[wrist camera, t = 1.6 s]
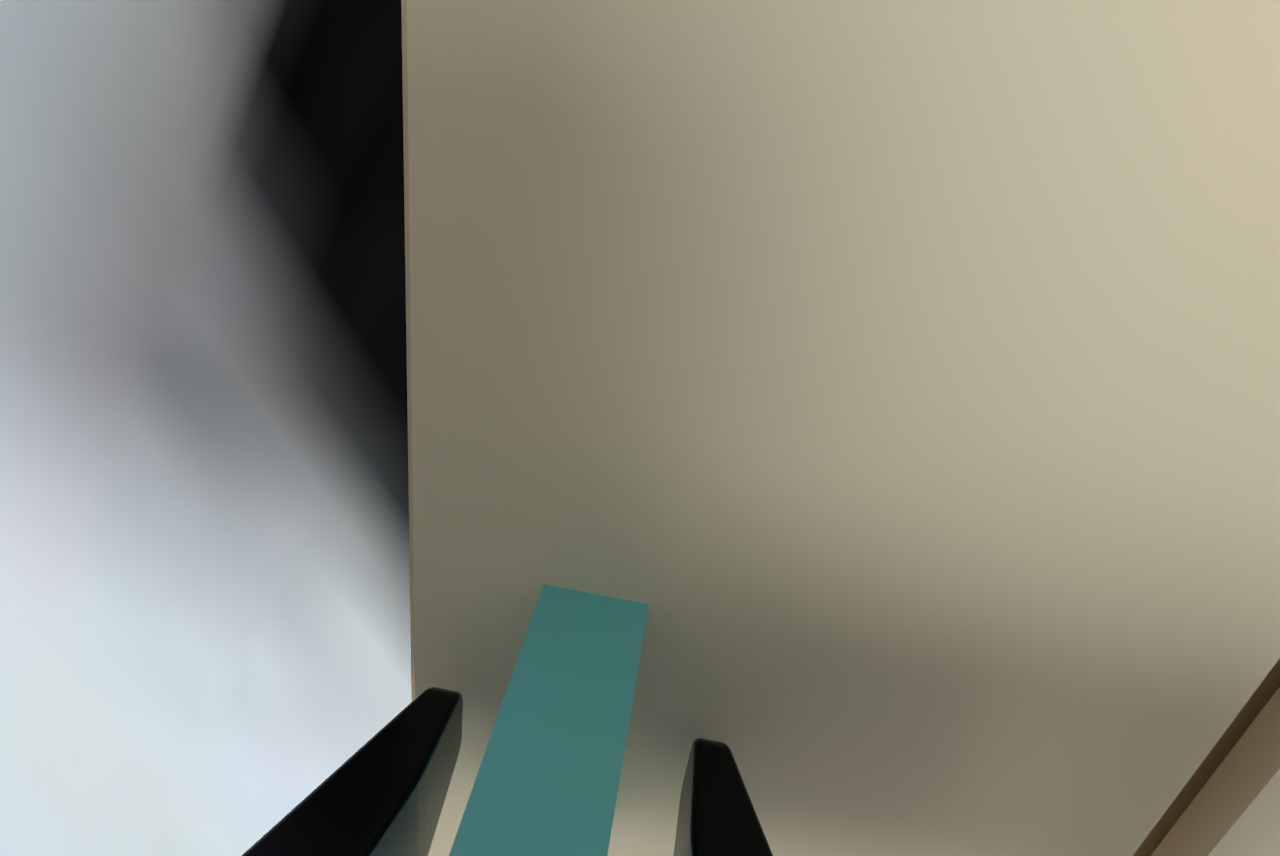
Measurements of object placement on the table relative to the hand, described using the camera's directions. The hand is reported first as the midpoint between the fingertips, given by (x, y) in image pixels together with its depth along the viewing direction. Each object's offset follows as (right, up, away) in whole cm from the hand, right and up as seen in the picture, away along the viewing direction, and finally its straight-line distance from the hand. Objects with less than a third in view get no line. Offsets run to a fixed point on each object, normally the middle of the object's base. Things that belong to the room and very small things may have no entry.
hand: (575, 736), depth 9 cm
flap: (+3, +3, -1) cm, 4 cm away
